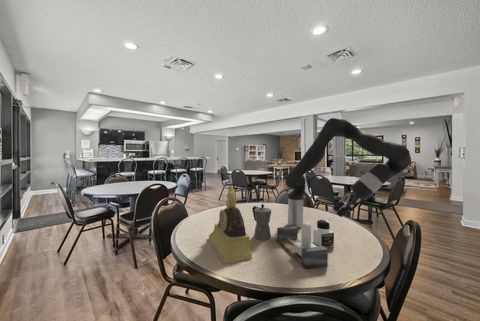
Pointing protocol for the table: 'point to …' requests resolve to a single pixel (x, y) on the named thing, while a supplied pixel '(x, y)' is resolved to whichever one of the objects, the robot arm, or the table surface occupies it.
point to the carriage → (304, 239)
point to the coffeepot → (262, 222)
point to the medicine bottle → (323, 234)
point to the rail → (309, 256)
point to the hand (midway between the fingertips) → (336, 212)
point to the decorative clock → (231, 233)
